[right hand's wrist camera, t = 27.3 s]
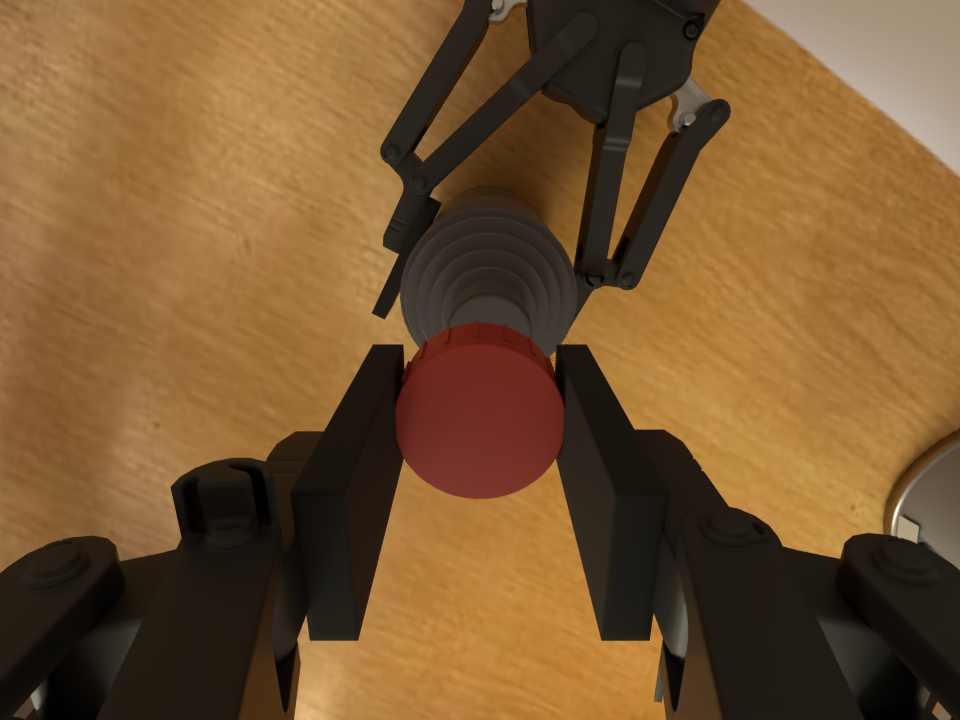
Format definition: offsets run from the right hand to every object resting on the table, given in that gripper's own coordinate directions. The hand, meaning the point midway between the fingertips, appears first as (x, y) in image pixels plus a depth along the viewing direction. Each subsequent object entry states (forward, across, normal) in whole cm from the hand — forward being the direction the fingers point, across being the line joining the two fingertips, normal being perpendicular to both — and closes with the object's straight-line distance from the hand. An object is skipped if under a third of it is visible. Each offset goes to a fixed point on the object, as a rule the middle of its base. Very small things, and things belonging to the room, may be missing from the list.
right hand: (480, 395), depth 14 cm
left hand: (+17, +2, +4) cm, 18 cm away
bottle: (+24, 0, 0) cm, 24 cm away
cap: (-1, 0, 0) cm, 1 cm away
